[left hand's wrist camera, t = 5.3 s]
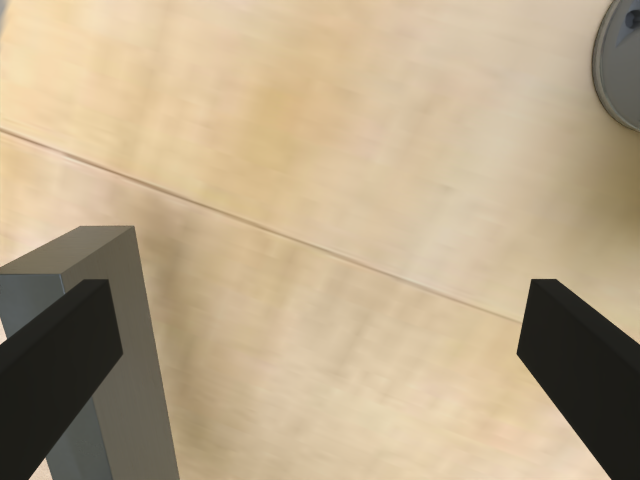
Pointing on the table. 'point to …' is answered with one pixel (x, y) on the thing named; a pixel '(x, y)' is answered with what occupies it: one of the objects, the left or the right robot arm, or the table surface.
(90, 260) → the bar
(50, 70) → the table surface
